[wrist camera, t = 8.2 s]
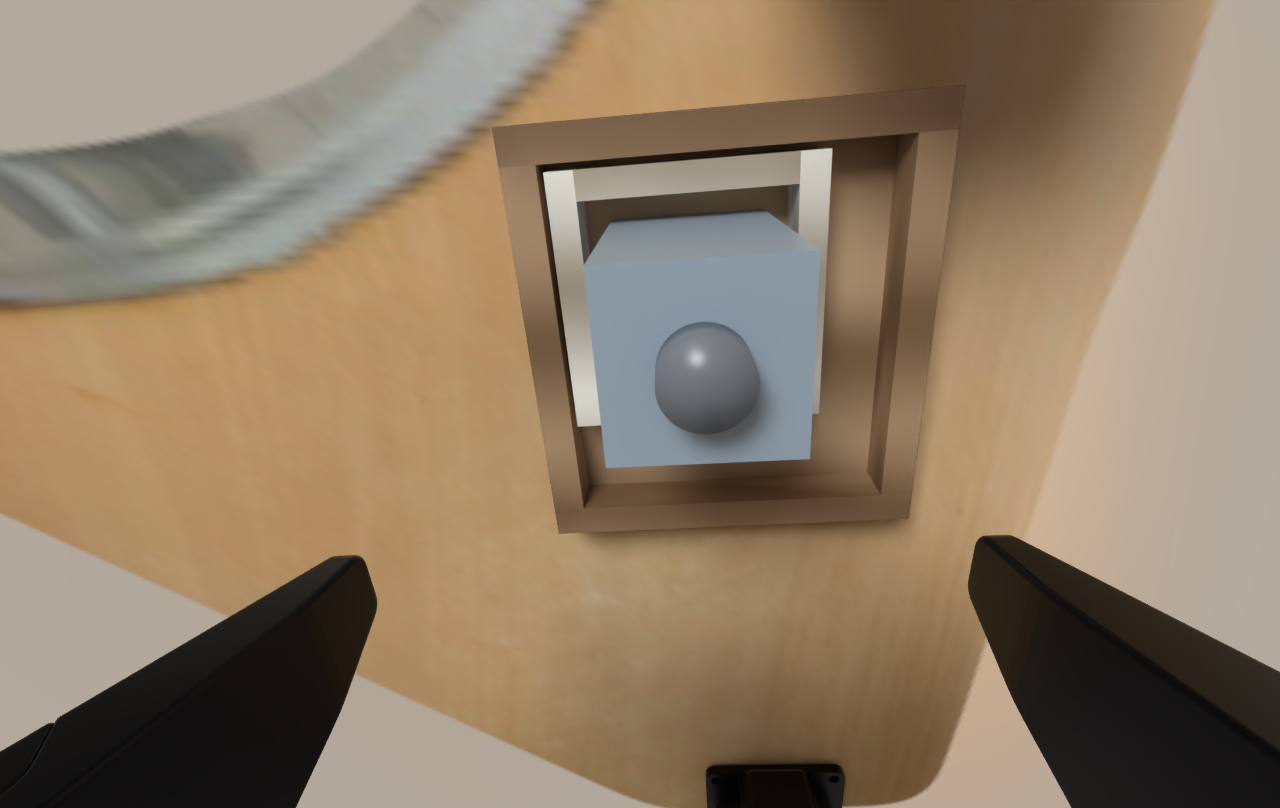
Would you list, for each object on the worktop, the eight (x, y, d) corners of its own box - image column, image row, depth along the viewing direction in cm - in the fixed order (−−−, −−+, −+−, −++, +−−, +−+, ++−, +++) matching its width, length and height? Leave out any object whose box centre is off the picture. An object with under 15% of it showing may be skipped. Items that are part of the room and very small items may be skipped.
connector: (761, 352, 19) (821, 483, 12) (624, 360, 20) (601, 492, 12) (763, 208, 17) (835, 260, 10) (612, 219, 18) (576, 277, 10)
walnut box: (887, 486, 22) (909, 520, 20) (567, 501, 23) (558, 535, 21) (931, 90, 16) (966, 84, 15) (510, 128, 17) (490, 127, 15)
